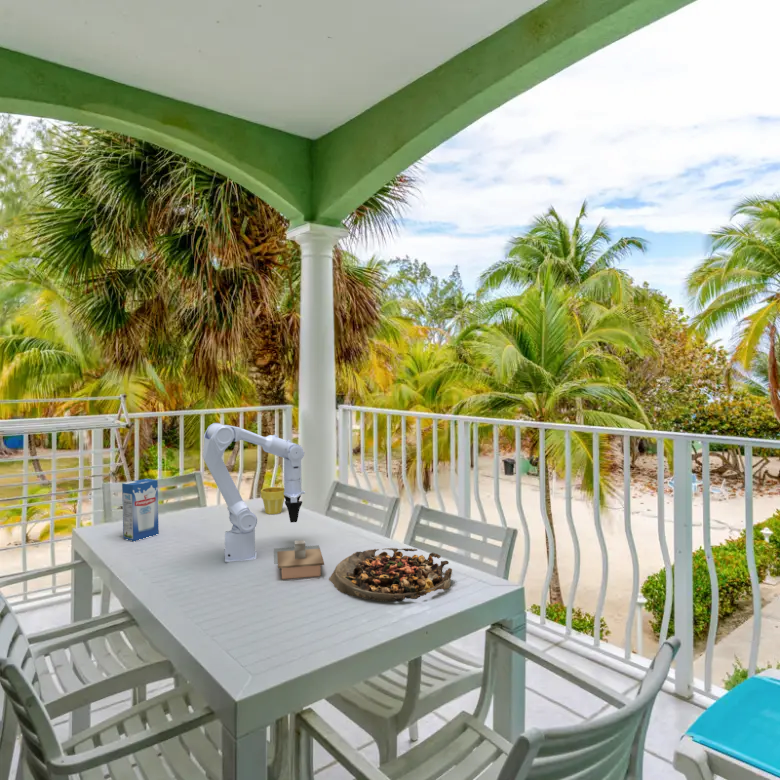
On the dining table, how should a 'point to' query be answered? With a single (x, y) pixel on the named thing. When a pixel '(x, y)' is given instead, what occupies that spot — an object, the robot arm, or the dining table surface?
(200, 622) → the dining table surface
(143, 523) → the milk carton
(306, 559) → the lid
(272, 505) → the plant pot
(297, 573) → the pink shallow tray
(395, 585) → the food dish
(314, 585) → the dining table surface
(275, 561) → the mat
